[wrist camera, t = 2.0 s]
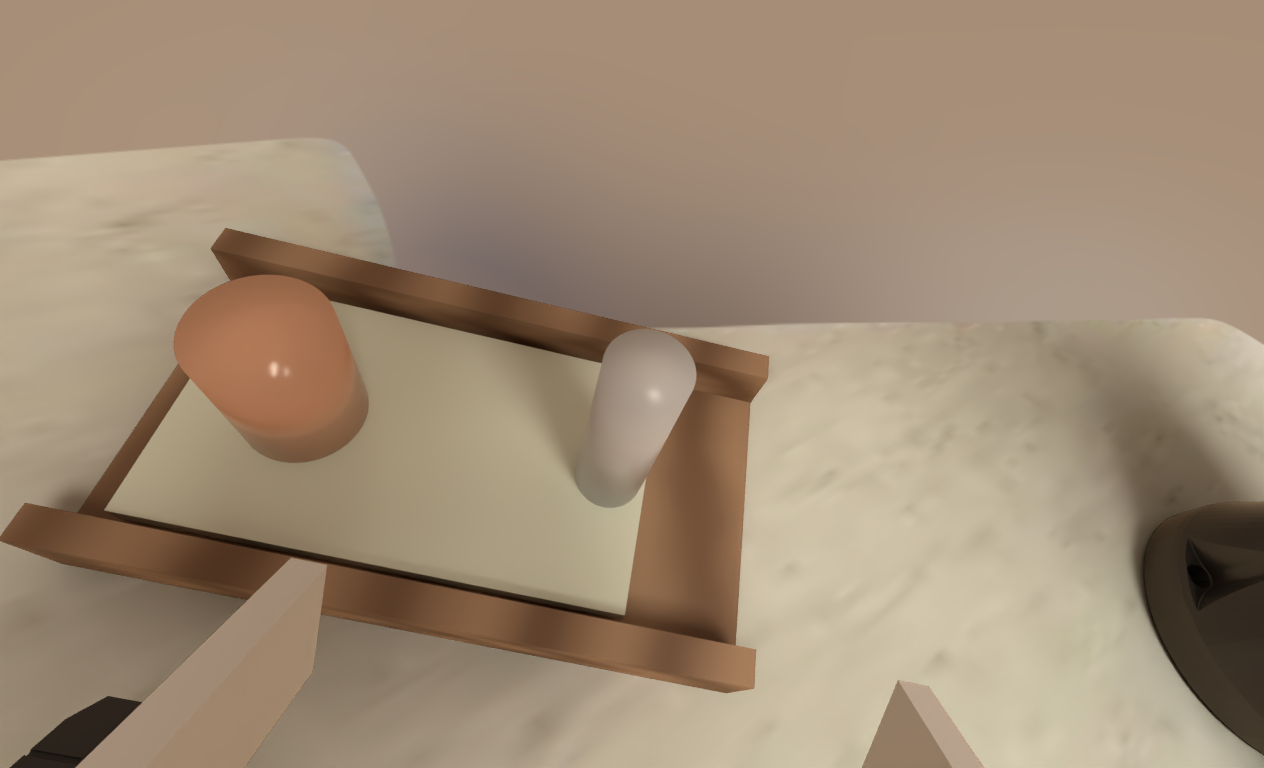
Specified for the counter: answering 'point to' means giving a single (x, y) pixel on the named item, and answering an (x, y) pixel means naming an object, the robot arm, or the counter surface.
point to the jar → (275, 366)
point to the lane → (636, 644)
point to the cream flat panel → (443, 465)
